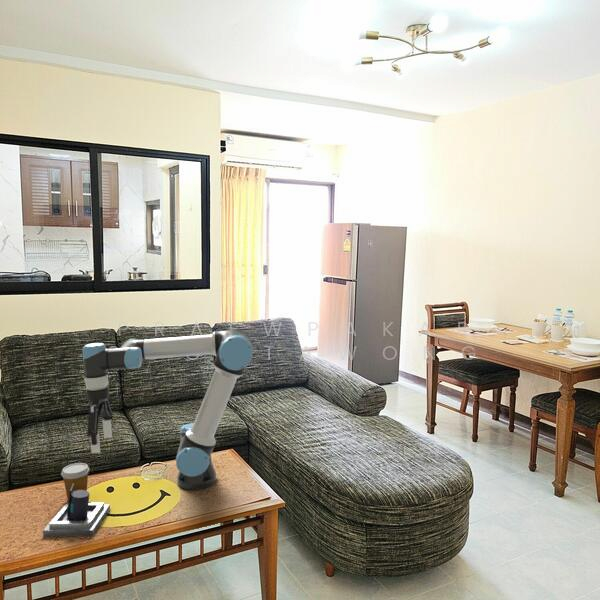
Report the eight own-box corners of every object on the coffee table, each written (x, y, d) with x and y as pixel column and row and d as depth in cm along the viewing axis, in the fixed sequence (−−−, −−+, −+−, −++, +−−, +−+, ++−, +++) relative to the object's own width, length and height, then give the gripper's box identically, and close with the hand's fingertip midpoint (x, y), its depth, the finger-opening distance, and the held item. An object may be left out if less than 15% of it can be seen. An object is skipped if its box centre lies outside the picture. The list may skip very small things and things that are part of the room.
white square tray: (110, 509, 182) (109, 500, 182) (92, 535, 166) (92, 525, 166) (64, 510, 182) (64, 500, 181) (43, 536, 166) (42, 526, 165)
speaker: (60, 520, 171) (62, 490, 170) (69, 512, 177) (71, 483, 176) (81, 523, 170) (84, 493, 169) (90, 515, 176) (92, 486, 175)
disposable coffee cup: (87, 489, 196) (85, 460, 195) (93, 500, 189) (92, 469, 187) (60, 497, 191) (58, 466, 189) (66, 508, 183) (64, 476, 182)
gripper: (97, 377, 192) (102, 431, 195) (73, 399, 168) (79, 460, 170) (118, 376, 193) (122, 430, 196) (96, 397, 168) (102, 459, 171)
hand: (102, 444), depth 183 cm, fingers open, 13 cm apart
